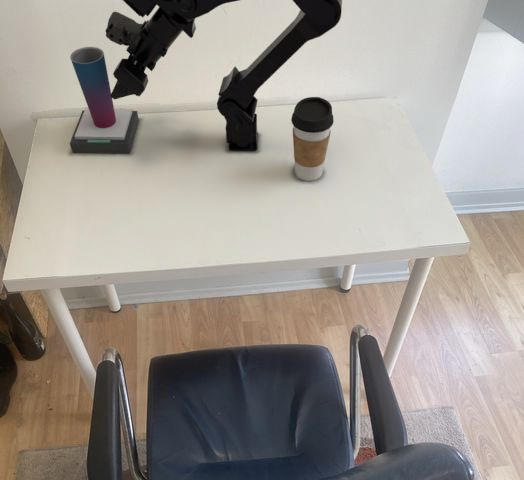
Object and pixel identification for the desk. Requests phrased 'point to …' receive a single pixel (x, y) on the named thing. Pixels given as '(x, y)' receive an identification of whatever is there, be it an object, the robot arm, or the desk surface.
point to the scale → (105, 133)
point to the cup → (94, 84)
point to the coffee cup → (311, 136)
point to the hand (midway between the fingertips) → (118, 85)
